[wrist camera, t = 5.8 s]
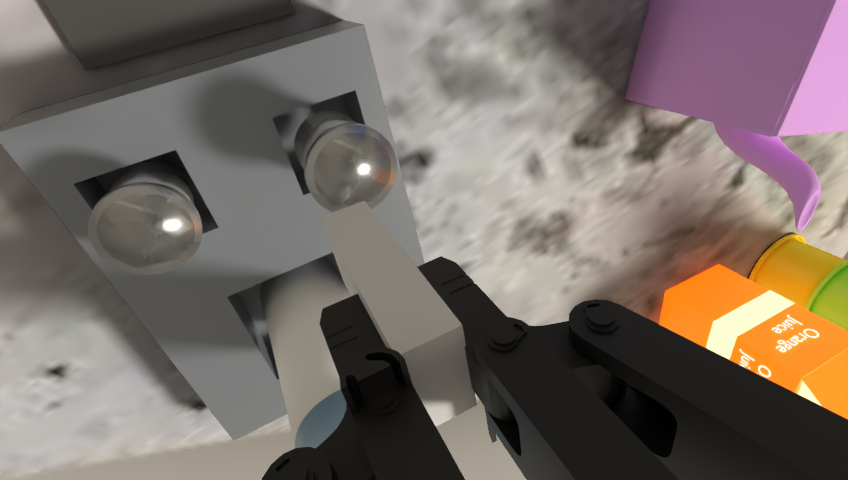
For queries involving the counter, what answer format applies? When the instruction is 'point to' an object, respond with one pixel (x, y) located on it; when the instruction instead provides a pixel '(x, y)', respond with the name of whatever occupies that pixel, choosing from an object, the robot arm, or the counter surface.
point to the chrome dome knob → (146, 220)
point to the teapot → (751, 77)
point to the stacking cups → (806, 278)
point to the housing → (217, 194)
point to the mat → (151, 24)
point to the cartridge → (305, 348)
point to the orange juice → (762, 334)
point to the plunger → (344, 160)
